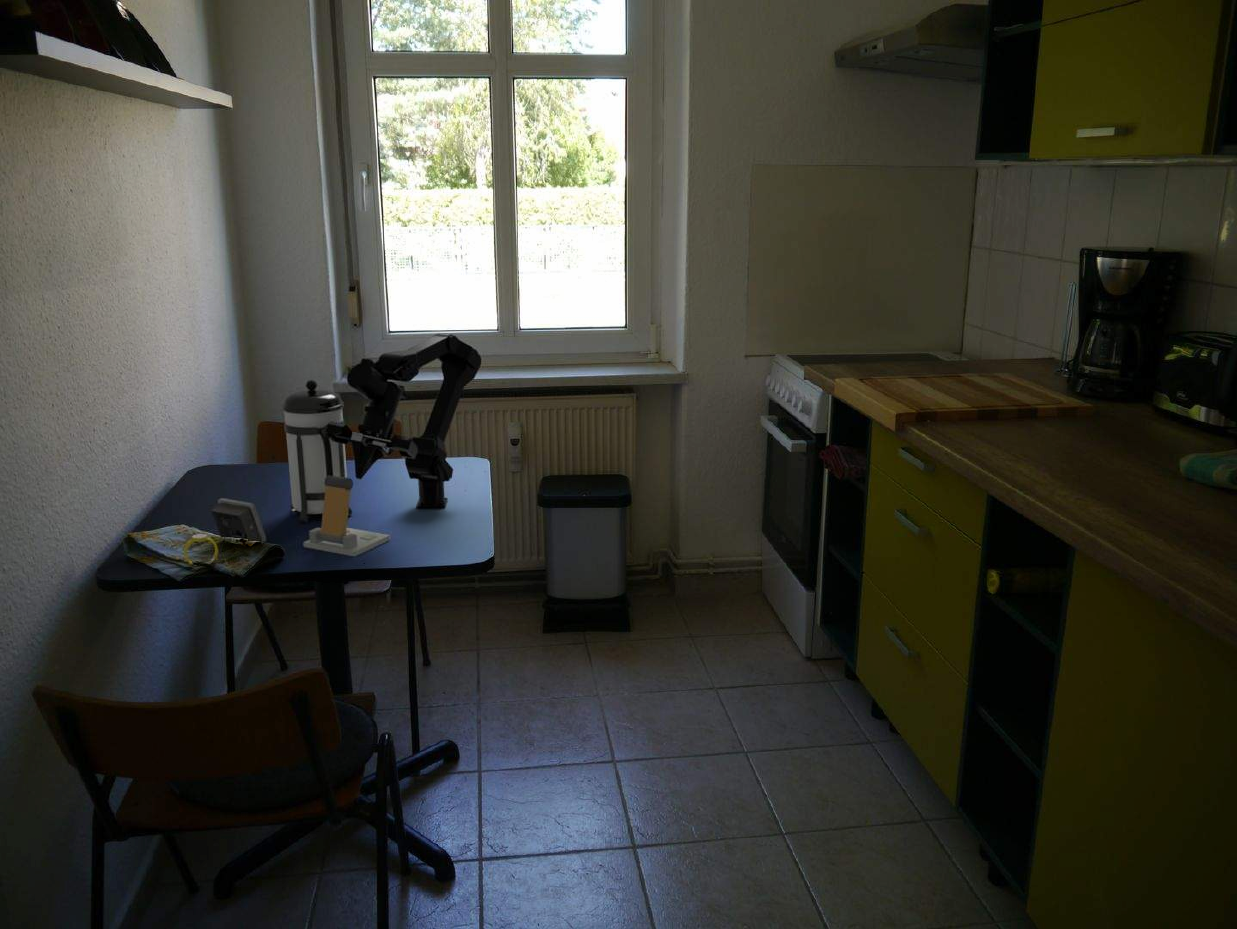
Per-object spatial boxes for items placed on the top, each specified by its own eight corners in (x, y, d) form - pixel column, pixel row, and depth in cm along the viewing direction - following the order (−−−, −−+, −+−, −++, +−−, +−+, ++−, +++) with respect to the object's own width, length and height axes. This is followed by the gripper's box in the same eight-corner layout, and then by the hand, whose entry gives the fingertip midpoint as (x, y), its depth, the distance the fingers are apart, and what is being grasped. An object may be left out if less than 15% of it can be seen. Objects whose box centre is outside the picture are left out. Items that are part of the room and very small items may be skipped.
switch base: (340, 530, 218) (338, 515, 217) (389, 539, 212) (388, 523, 211) (303, 546, 208) (302, 530, 207) (354, 556, 203) (353, 539, 202)
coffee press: (268, 520, 224) (256, 384, 216) (314, 500, 238) (304, 372, 231) (334, 530, 218) (324, 390, 210) (378, 508, 232) (370, 377, 224)
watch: (216, 561, 201) (216, 532, 199) (219, 565, 198) (218, 536, 197) (183, 564, 198) (182, 535, 196) (185, 569, 195) (184, 539, 194)
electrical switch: (267, 542, 211) (260, 500, 207) (249, 552, 206) (241, 509, 203) (233, 536, 214) (225, 494, 211) (214, 546, 210) (206, 503, 207)
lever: (324, 540, 208) (331, 475, 208) (348, 544, 206) (355, 478, 205) (316, 540, 206) (323, 475, 206) (340, 544, 204) (347, 478, 203)
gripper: (434, 431, 221) (412, 499, 216) (353, 414, 224) (330, 481, 219) (419, 412, 210) (396, 483, 206) (335, 394, 213) (310, 464, 209)
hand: (358, 478), depth 210 cm, fingers closed
